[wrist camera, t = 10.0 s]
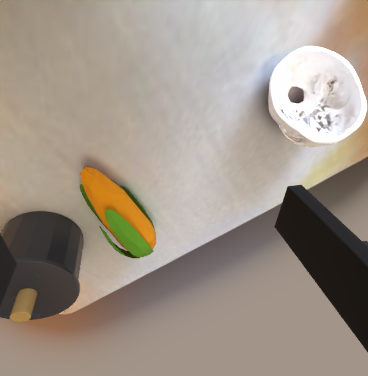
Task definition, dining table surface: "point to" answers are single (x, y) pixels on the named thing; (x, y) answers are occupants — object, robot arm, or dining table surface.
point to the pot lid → (39, 290)
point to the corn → (118, 214)
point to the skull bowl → (316, 97)
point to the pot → (45, 239)
